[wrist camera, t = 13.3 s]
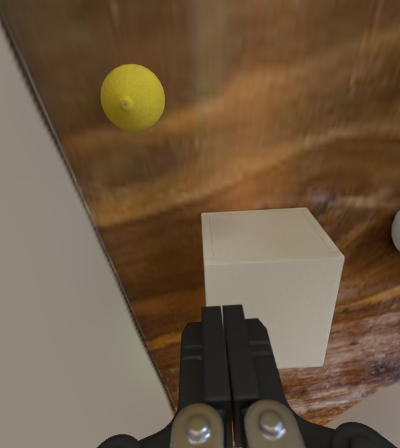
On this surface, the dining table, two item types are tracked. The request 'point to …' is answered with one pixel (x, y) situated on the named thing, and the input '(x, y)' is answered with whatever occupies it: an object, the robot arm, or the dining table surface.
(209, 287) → the small bedside cabinet
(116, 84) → the lemon
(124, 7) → the dining table surface
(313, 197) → the dining table surface
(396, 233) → the donut
